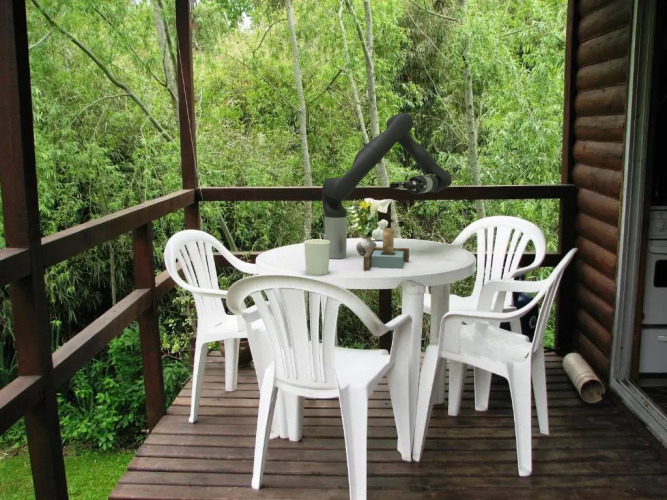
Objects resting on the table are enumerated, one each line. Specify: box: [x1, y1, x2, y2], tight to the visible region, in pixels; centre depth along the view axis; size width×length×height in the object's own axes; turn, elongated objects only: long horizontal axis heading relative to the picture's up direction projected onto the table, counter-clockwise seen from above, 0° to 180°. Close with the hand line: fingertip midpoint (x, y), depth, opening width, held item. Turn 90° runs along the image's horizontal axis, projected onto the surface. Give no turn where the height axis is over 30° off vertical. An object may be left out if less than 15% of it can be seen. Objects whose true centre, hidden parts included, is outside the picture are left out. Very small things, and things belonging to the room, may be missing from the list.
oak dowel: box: [382, 227, 395, 255], centre depth 261 cm, size 4×4×14 cm
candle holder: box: [303, 238, 330, 276], centre depth 246 cm, size 10×10×12 cm
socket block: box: [370, 250, 404, 270], centre depth 261 cm, size 12×12×5 cm
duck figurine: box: [371, 219, 389, 242], centre depth 317 cm, size 12×8×11 cm
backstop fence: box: [363, 246, 410, 271], centre depth 260 cm, size 16×20×6 cm
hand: (399, 186), depth 268 cm, fingers open, 8 cm apart
